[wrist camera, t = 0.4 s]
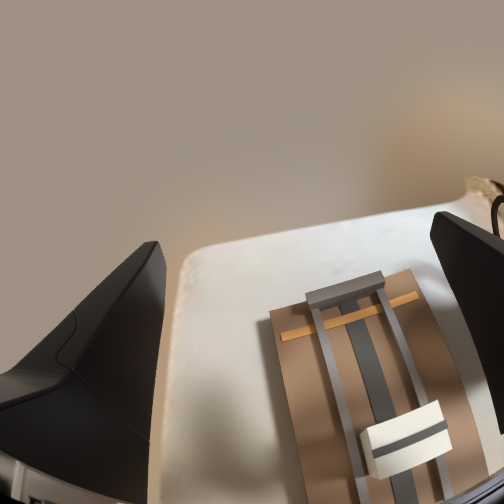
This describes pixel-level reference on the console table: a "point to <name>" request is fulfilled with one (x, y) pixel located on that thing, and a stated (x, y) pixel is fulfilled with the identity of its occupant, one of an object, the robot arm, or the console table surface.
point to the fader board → (371, 389)
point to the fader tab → (405, 441)
